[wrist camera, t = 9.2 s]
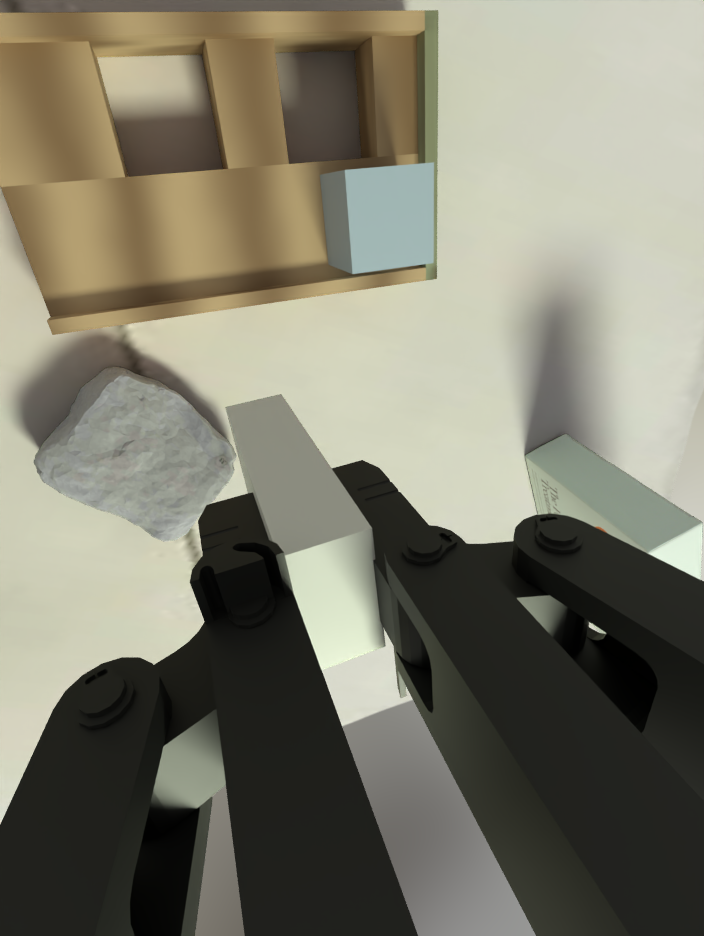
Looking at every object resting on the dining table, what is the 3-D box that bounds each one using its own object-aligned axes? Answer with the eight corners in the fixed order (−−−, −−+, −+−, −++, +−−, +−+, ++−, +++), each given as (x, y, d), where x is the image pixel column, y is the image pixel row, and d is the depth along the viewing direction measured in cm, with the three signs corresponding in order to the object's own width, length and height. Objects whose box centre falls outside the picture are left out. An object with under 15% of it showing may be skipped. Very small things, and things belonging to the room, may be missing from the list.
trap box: (65, 320, 31) (52, 334, 28) (-39, 39, 24) (-73, 13, 21) (412, 271, 36) (436, 278, 33) (408, 32, 30) (438, 10, 26)
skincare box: (517, 456, 48) (648, 552, 35) (564, 430, 49) (711, 515, 35) (549, 587, 60) (657, 696, 47) (586, 565, 60) (704, 667, 47)
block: (328, 264, 31) (352, 273, 27) (319, 174, 29) (344, 169, 25) (400, 255, 33) (433, 262, 28) (397, 168, 30) (433, 162, 26)
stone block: (110, 343, 34) (25, 459, 34) (113, 351, 30) (18, 483, 30) (244, 433, 41) (174, 530, 41) (261, 449, 37) (184, 557, 37)
